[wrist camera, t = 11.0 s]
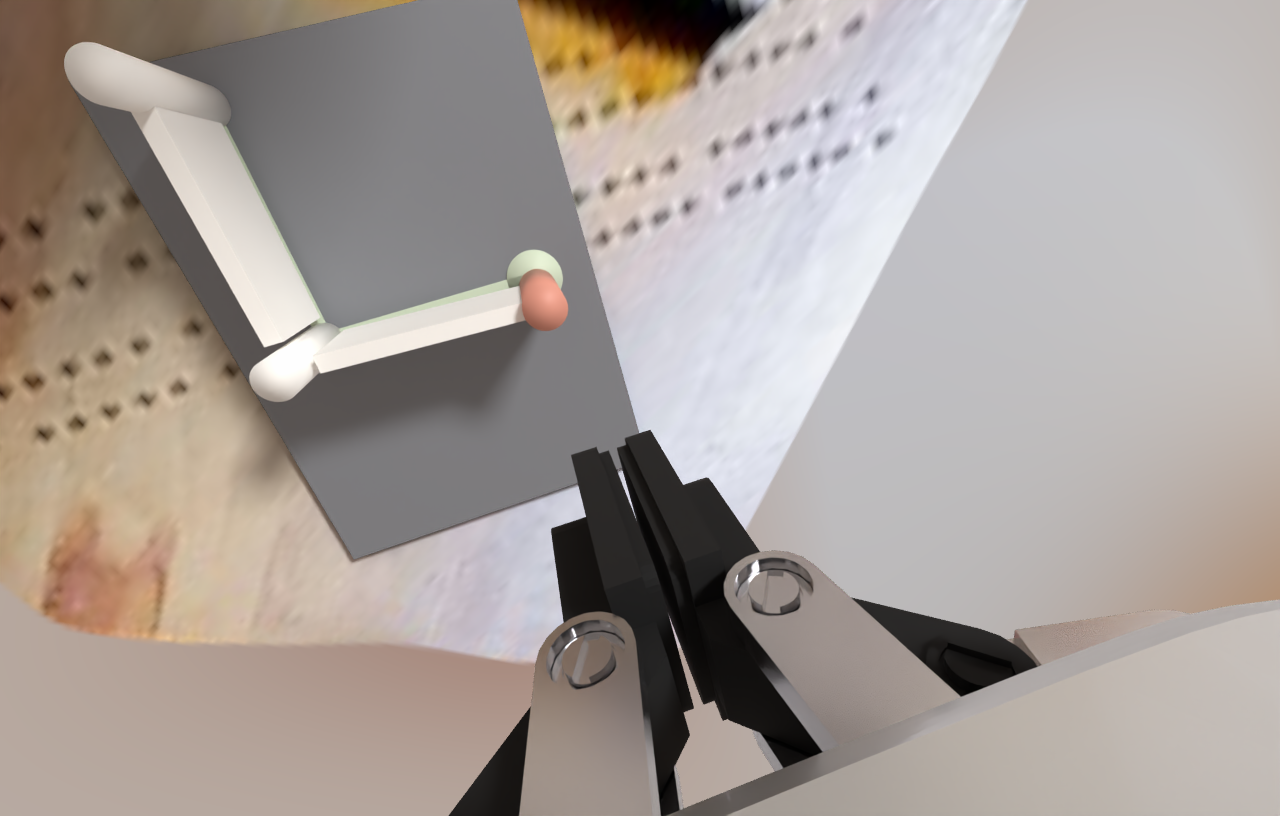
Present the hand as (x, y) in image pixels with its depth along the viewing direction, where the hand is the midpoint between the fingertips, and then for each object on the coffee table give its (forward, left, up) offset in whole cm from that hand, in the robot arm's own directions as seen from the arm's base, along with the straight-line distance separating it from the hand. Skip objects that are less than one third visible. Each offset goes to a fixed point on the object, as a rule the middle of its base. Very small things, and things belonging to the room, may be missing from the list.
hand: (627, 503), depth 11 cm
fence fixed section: (-7, -12, -21) cm, 25 cm away
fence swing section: (-1, -5, -21) cm, 21 cm away
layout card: (-2, -7, -22) cm, 23 cm away
